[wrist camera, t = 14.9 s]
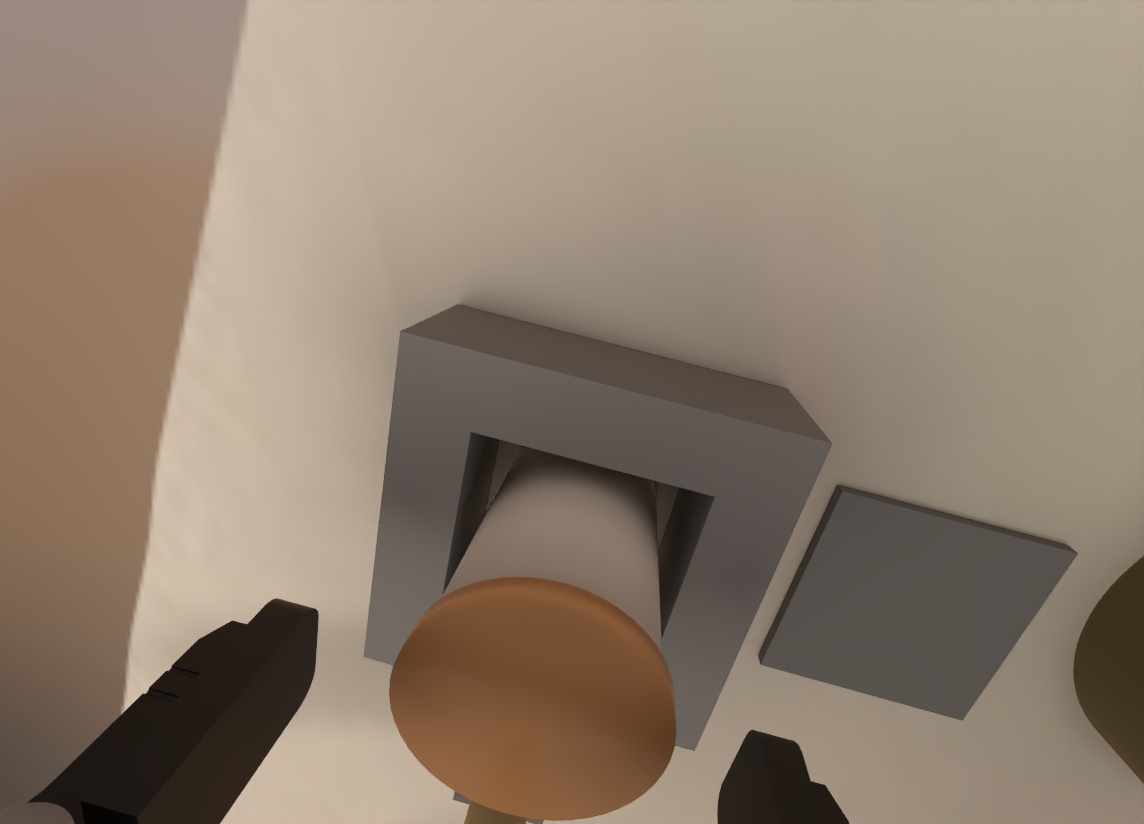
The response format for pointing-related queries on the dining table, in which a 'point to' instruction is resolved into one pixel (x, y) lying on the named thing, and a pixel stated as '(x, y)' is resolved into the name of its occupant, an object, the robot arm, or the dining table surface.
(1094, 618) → the piston
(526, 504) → the plug
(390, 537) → the socket block
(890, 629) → the mat
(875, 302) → the dining table surface
